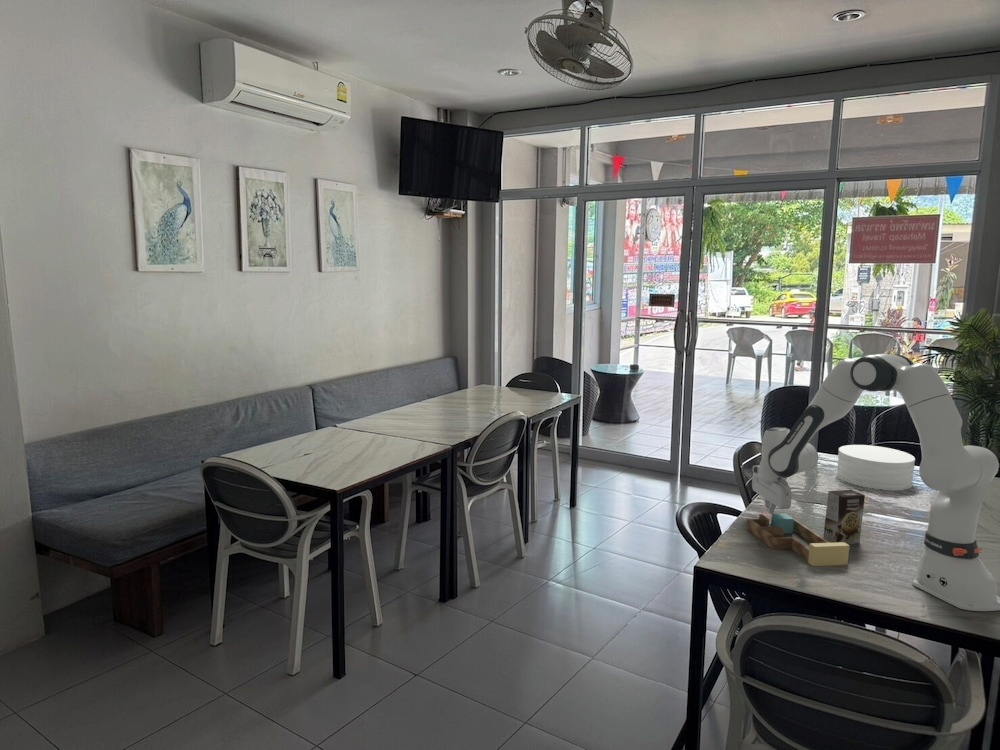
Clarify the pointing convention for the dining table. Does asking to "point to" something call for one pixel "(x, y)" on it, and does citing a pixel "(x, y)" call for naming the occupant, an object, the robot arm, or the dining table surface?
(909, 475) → the plate stack
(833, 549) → the bumper
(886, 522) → the dining table surface
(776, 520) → the block
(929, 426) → the robot arm
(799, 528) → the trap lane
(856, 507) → the coffee box
